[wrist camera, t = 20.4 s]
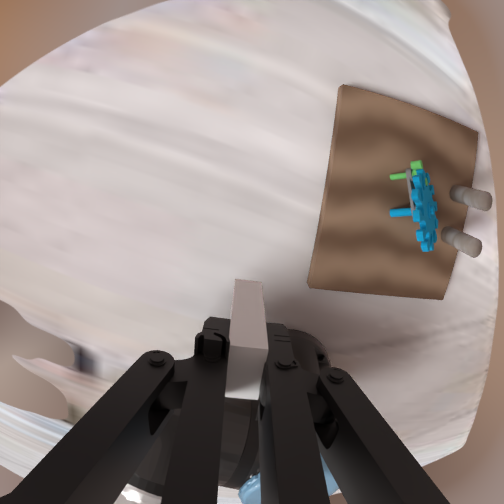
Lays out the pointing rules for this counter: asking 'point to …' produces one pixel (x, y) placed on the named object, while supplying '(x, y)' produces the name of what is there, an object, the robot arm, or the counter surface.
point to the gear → (419, 204)
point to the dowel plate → (392, 199)
